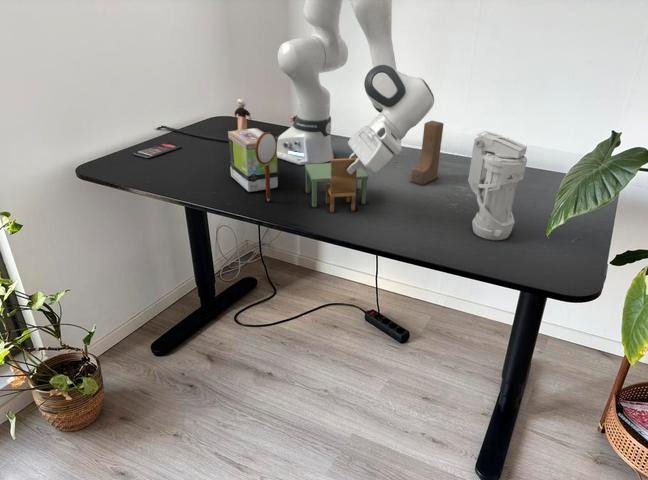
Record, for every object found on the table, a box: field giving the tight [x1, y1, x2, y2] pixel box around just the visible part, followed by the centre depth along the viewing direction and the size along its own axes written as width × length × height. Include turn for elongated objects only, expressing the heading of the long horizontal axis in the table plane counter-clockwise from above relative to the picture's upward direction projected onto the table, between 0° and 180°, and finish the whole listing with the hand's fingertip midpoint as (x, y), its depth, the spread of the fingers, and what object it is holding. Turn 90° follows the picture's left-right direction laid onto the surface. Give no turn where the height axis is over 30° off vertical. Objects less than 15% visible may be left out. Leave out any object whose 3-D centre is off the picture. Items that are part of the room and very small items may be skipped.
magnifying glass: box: [255, 131, 277, 202], centre depth 150 cm, size 9×2×20 cm, turn 149°
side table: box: [304, 162, 369, 208], centre depth 157 cm, size 12×16×8 cm
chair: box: [325, 157, 357, 213], centre depth 150 cm, size 7×7×15 cm
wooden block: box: [410, 120, 445, 186], centre depth 169 cm, size 9×4×18 cm, turn 141°
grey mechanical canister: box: [467, 130, 528, 241], centre depth 137 cm, size 13×10×25 cm
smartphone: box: [133, 141, 181, 159], centre depth 188 cm, size 7×1×15 cm
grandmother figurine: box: [233, 98, 253, 130], centre depth 208 cm, size 8×4×13 cm, turn 81°
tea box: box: [227, 127, 279, 193], centre depth 163 cm, size 15×10×15 cm, turn 31°
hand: (346, 170), depth 145 cm, fingers closed on chair
